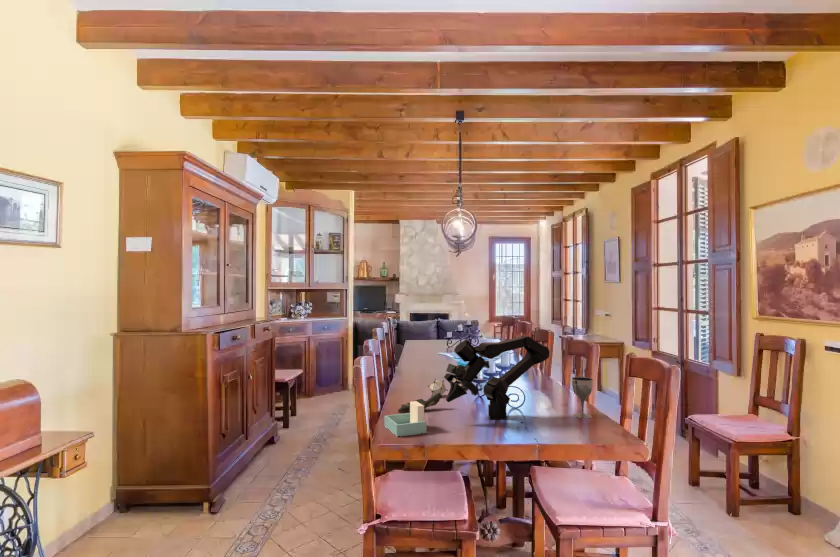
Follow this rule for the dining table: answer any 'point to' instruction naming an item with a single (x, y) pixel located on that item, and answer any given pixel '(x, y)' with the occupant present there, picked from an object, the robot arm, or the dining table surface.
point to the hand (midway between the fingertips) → (447, 401)
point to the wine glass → (582, 392)
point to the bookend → (416, 412)
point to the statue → (423, 402)
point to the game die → (437, 387)
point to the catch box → (404, 425)
